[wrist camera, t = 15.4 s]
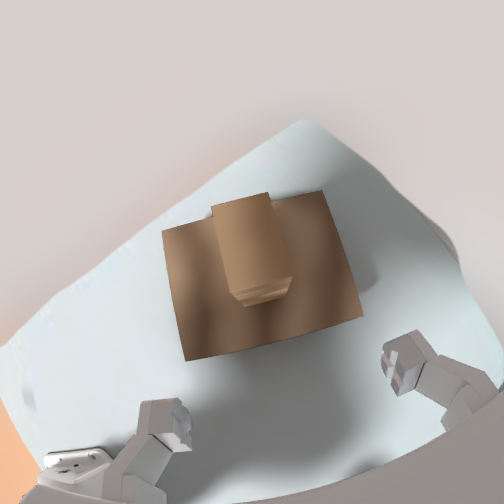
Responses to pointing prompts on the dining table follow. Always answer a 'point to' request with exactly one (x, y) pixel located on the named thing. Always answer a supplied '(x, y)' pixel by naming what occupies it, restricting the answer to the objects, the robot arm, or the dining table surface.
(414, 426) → the dining table surface
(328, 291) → the walnut shelf
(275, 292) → the ochre block
